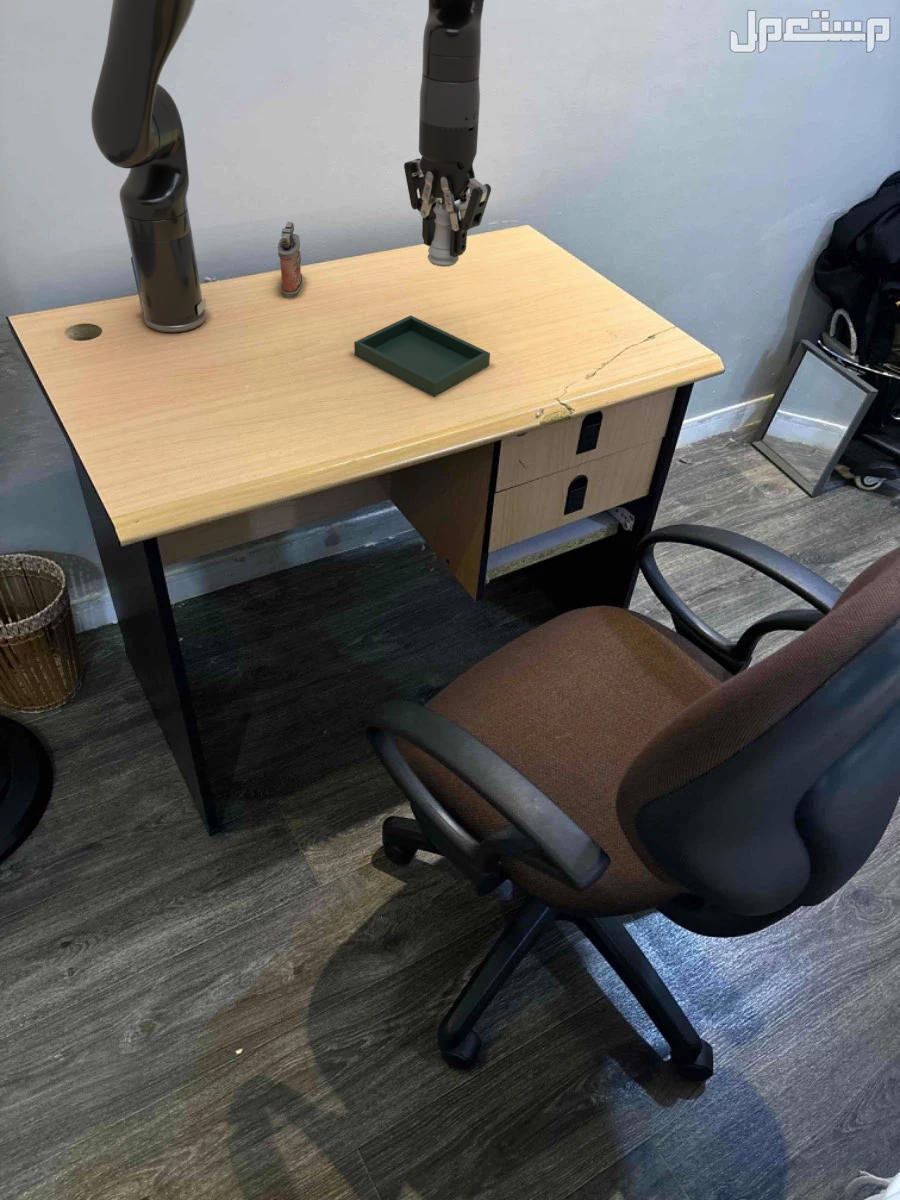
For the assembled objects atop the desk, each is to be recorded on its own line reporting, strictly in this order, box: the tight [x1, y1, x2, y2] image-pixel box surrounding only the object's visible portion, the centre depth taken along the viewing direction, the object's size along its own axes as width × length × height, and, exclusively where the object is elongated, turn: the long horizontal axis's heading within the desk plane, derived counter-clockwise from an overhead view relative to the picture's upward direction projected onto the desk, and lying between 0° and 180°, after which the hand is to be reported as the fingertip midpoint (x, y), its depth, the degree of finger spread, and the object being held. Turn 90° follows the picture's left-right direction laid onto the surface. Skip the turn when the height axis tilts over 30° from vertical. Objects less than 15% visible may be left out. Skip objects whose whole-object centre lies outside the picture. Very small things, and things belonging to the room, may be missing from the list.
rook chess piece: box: [427, 199, 460, 268], centre depth 121 cm, size 4×4×8 cm
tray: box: [353, 315, 491, 398], centre depth 134 cm, size 17×13×2 cm
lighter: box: [277, 221, 304, 299], centre depth 146 cm, size 8×3×10 cm, turn 179°
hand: (443, 249), depth 122 cm, fingers closed on rook chess piece, 4 cm apart
